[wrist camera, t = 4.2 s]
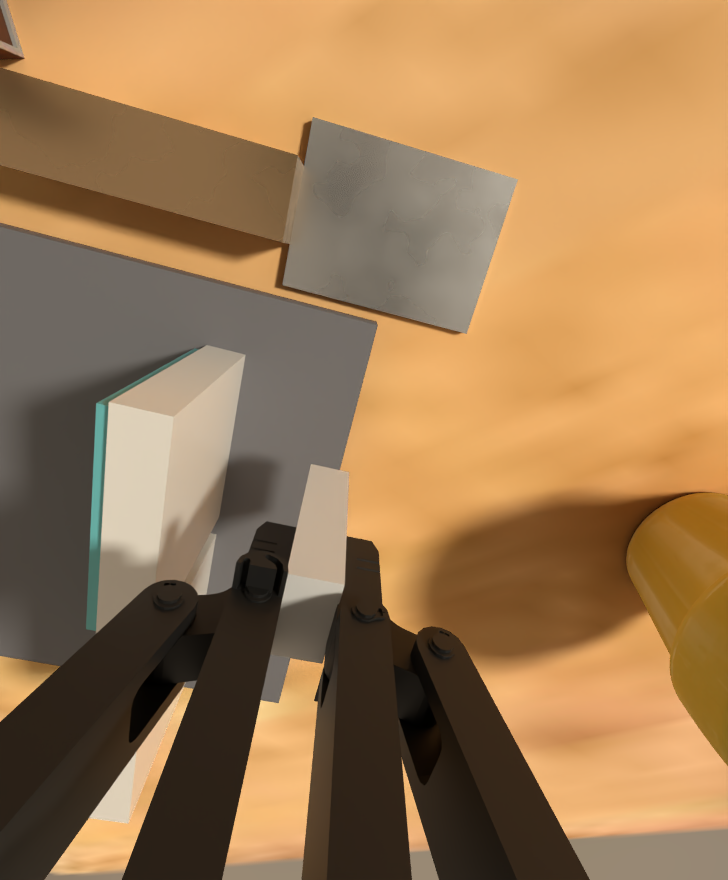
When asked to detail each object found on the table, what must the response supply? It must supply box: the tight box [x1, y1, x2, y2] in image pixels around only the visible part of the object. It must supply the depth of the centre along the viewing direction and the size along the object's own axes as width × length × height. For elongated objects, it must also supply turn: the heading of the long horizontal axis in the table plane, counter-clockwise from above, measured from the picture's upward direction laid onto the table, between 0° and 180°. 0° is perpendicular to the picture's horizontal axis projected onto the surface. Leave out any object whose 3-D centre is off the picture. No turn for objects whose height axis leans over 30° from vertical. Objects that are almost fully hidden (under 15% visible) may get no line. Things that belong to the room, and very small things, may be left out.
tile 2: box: [89, 533, 216, 824], centre depth 20 cm, size 8×2×8 cm, turn 166°
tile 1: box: [86, 345, 245, 633], centre depth 17 cm, size 8×2×8 cm, turn 166°
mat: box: [0, 223, 378, 703], centre depth 22 cm, size 22×18×1 cm
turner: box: [0, 68, 518, 334], centre depth 17 cm, size 18×6×2 cm, turn 76°
